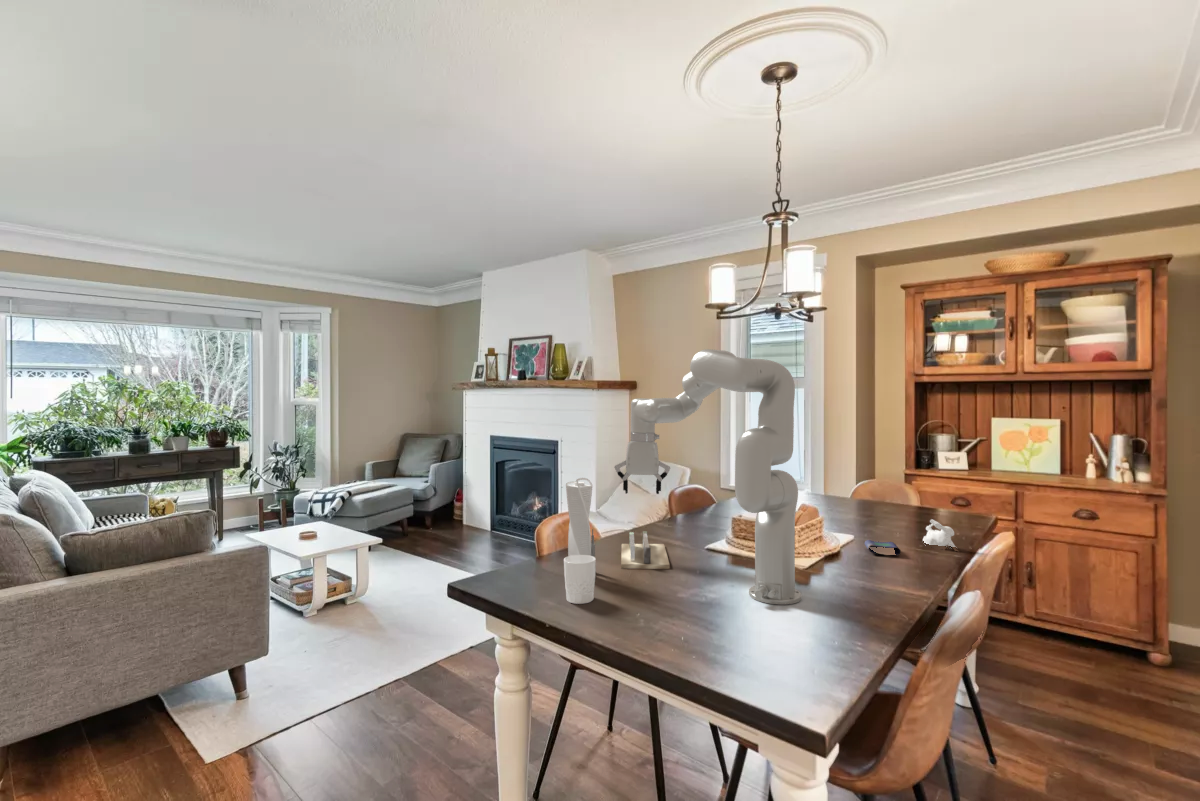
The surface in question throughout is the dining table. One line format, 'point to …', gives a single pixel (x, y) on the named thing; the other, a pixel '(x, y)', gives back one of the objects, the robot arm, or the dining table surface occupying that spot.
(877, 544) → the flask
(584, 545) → the skyscraper
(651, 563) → the tong rest
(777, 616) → the dining table surface
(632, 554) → the bar
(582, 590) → the white cup
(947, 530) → the rabbit figurine
